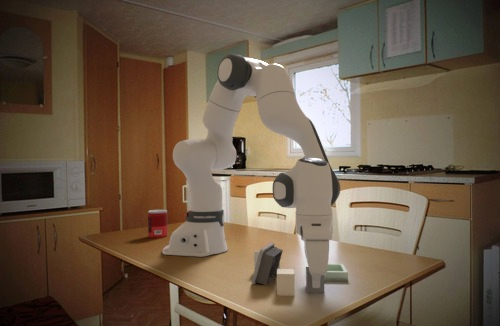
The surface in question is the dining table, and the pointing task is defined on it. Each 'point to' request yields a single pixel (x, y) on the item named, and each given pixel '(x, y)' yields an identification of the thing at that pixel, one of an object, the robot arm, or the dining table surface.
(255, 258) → the label plate
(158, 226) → the canned food
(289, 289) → the beige part
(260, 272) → the electrical switch
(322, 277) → the grey part
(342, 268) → the tray
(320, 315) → the dining table surface
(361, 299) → the dining table surface
